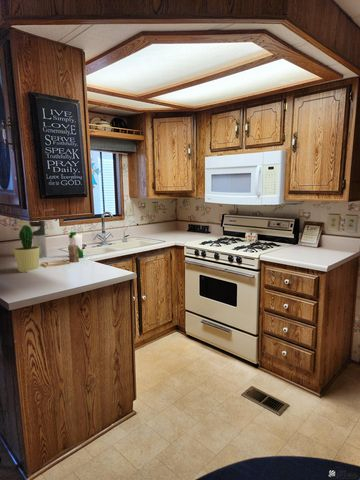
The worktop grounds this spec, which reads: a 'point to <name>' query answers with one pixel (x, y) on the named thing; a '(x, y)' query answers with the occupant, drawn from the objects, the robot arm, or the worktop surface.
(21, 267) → the potted cactus
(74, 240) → the milk carton
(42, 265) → the oak rack
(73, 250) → the walnut board
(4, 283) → the worktop surface
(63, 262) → the offcut upper
